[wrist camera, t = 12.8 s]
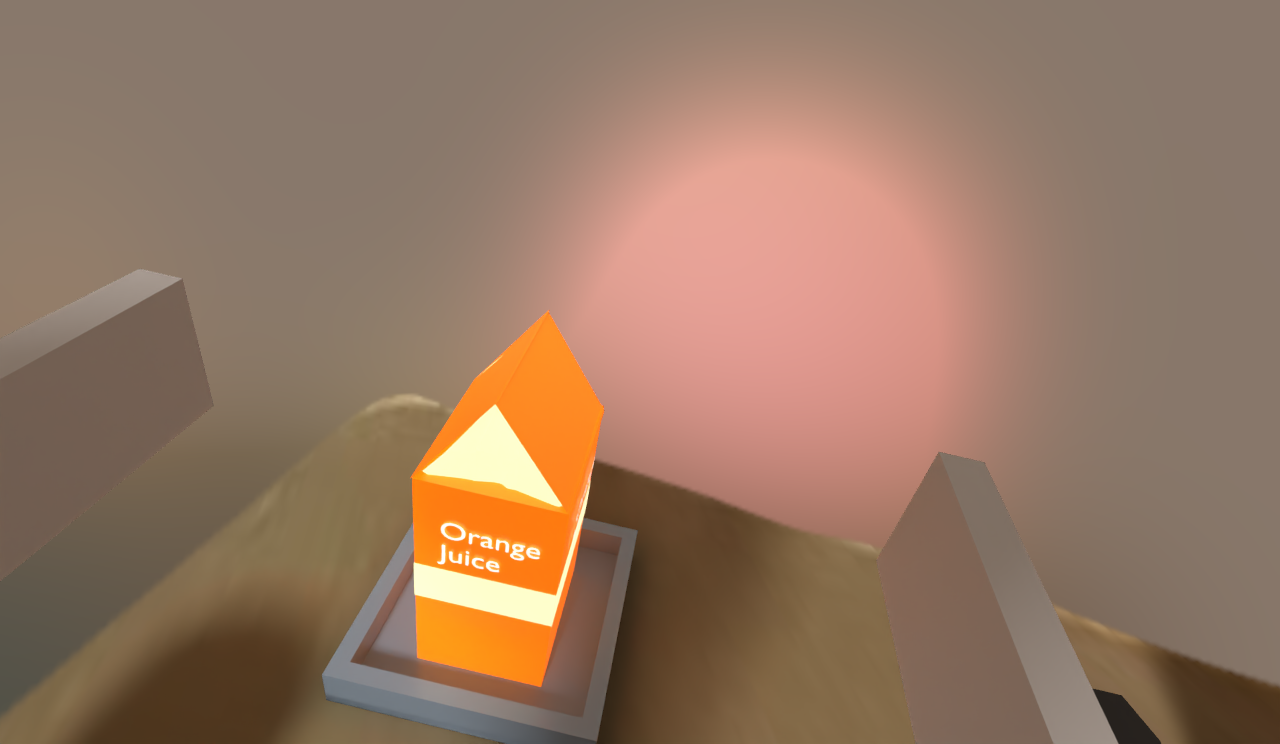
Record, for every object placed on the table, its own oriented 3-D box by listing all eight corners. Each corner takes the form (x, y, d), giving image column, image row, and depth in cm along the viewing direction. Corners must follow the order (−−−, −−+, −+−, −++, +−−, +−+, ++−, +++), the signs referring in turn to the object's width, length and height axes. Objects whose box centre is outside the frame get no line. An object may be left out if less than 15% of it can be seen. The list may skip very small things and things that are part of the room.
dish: (631, 553, 47) (637, 530, 46) (590, 764, 35) (596, 741, 34) (436, 507, 48) (436, 483, 46) (326, 699, 35) (321, 674, 34)
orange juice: (576, 569, 45) (621, 324, 34) (543, 688, 37) (587, 424, 26) (467, 544, 45) (477, 291, 34) (413, 658, 37) (403, 383, 26)
